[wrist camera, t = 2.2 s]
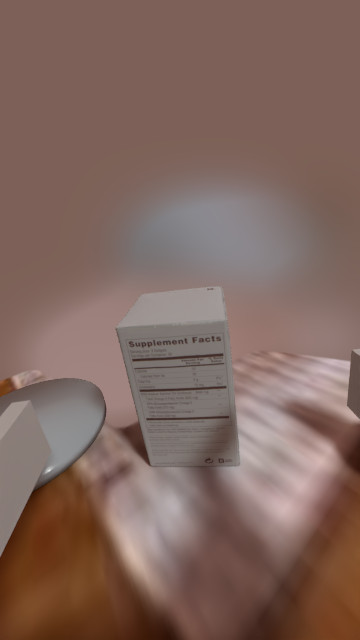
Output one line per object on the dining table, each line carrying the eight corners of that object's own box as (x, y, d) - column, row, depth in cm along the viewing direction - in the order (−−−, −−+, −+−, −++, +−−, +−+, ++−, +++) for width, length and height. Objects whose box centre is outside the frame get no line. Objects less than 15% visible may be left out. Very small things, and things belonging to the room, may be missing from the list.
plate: (-109, 480, 25) (-115, 472, 24) (36, 378, 38) (33, 372, 38) (10, 541, 18) (5, 532, 18) (134, 393, 32) (132, 386, 31)
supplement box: (163, 407, 29) (140, 292, 24) (234, 405, 28) (225, 283, 23) (147, 469, 22) (111, 326, 17) (241, 470, 21) (229, 316, 16)
